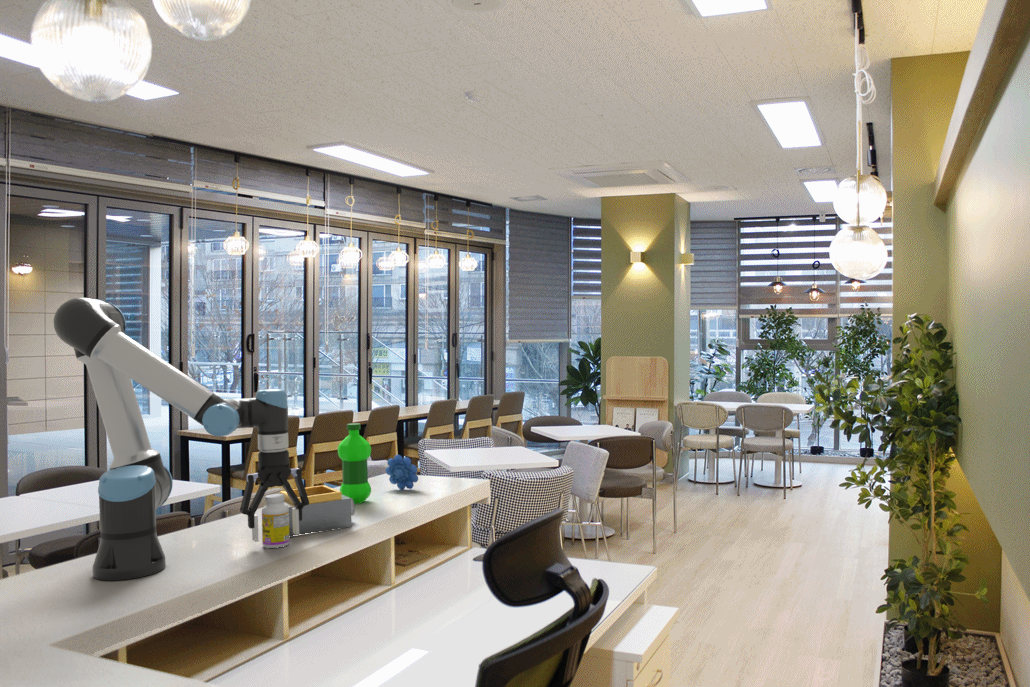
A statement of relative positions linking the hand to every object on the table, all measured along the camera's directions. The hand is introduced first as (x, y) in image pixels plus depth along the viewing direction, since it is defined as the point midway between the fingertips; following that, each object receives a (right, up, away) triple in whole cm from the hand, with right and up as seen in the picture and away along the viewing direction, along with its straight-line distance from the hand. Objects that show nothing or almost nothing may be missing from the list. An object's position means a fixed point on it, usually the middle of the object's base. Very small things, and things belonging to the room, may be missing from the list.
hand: (276, 537), depth 202 cm
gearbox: (+5, -2, +19) cm, 20 cm away
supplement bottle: (0, -2, 0) cm, 2 cm away
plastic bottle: (+10, -1, +51) cm, 52 cm away
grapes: (+22, -1, +69) cm, 72 cm away
